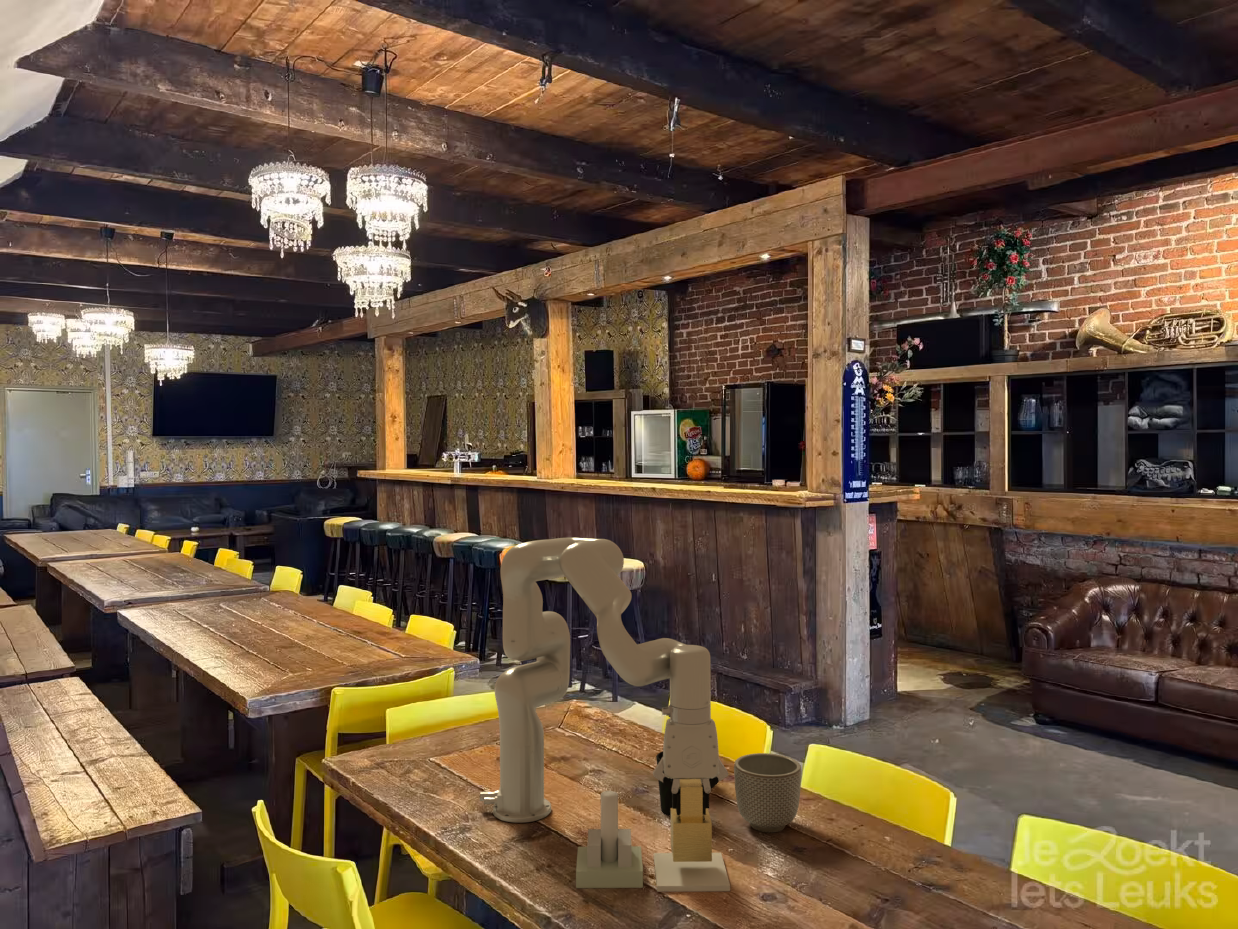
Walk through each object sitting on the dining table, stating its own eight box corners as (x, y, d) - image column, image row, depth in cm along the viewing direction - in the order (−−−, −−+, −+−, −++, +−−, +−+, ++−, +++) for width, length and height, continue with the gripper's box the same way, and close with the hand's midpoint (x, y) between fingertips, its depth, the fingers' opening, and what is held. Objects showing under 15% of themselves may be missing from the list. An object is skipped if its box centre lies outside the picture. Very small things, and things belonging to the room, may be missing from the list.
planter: (786, 846, 178) (786, 781, 177) (722, 830, 185) (722, 768, 185) (811, 821, 190) (811, 760, 189) (750, 807, 197) (750, 748, 197)
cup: (689, 819, 191) (689, 763, 190) (653, 816, 192) (653, 761, 192) (693, 805, 198) (693, 751, 198) (659, 802, 200) (659, 749, 199)
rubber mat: (657, 891, 160) (657, 886, 160) (653, 858, 173) (653, 853, 173) (730, 891, 160) (730, 885, 160) (721, 857, 173) (721, 852, 173)
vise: (576, 888, 161) (575, 805, 161) (578, 862, 171) (577, 784, 171) (642, 887, 161) (642, 804, 161) (640, 862, 171) (640, 784, 171)
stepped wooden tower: (673, 862, 162) (672, 790, 162) (670, 845, 169) (670, 776, 169) (711, 861, 162) (711, 790, 162) (707, 844, 169) (707, 776, 169)
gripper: (645, 720, 162) (646, 821, 162) (738, 719, 162) (738, 820, 162) (644, 708, 169) (644, 804, 170) (732, 707, 169) (733, 803, 170)
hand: (690, 811), depth 166 cm, fingers closed on stepped wooden tower, 4 cm apart
